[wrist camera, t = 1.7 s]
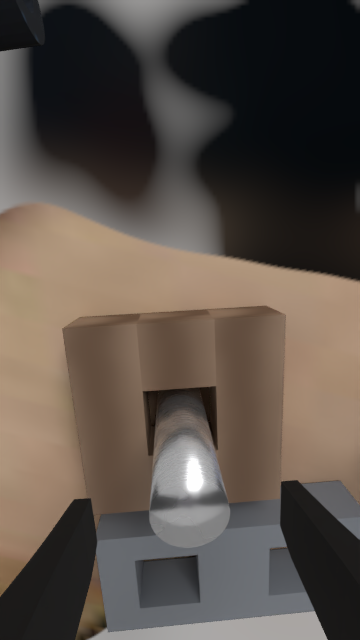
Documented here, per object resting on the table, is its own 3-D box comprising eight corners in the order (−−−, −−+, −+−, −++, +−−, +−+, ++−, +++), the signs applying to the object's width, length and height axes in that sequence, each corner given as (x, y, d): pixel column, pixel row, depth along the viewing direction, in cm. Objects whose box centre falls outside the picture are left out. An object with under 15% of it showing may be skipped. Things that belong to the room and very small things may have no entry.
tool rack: (340, 480, 21) (368, 516, 18) (333, 562, 23) (357, 606, 20) (104, 500, 20) (94, 540, 17) (115, 582, 22) (108, 632, 19)
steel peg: (199, 374, 19) (229, 477, 10) (201, 414, 19) (230, 544, 10) (155, 377, 18) (146, 484, 10) (158, 417, 19) (152, 551, 10)
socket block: (265, 305, 18) (285, 314, 15) (263, 464, 20) (280, 498, 17) (79, 317, 17) (62, 328, 14) (101, 477, 20) (90, 515, 17)
